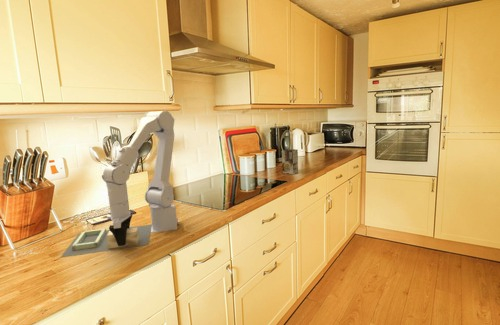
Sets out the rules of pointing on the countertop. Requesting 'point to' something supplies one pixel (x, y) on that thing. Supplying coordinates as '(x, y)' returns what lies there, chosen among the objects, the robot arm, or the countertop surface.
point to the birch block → (131, 238)
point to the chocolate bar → (102, 218)
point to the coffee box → (290, 161)
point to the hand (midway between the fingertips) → (123, 240)
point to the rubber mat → (103, 246)
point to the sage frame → (91, 244)
